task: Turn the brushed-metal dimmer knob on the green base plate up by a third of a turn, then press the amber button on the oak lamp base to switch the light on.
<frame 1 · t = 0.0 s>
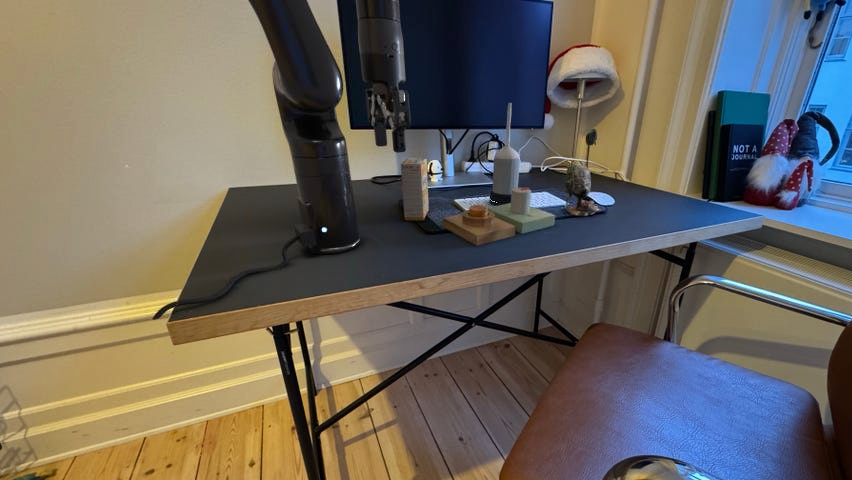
hand: (390, 149, 71), 17 cm above the table, tool pointing down, fingers open, 8 cm apart
dimmer knob: (520, 200, 84), point 5 cm above the table, hinge at 0.0°
light button: (478, 211, 78), point 4 cm above the table, slide at 0.1 cm
green base plate: (519, 221, 87), on the table
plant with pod: (579, 213, 94), on the table
supplement box: (417, 216, 89), on the table
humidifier: (504, 203, 101), on the table
lamp base: (478, 231, 80), on the table
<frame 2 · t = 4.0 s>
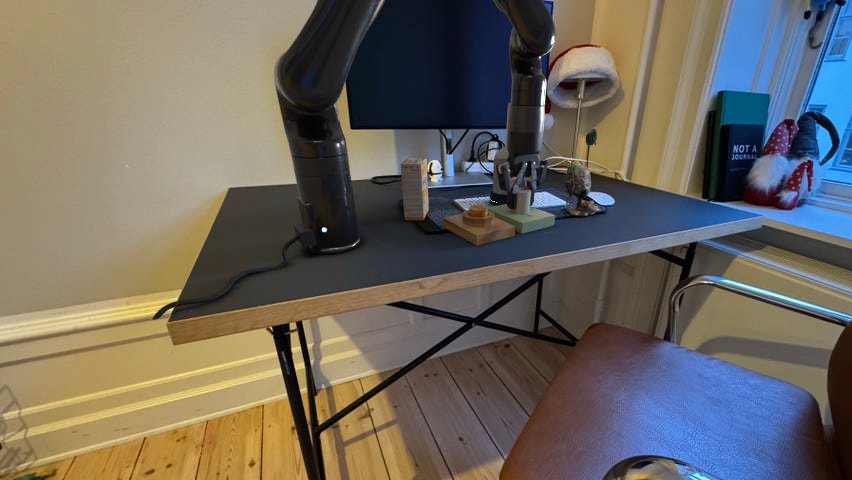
hand: (520, 206, 85), 4 cm above the table, tool pointing down, fingers closed on dimmer knob, 4 cm apart
dimmer knob: (520, 200, 84), point 5 cm above the table, hinge at -0.1°, touching gripper
everything else where it was.
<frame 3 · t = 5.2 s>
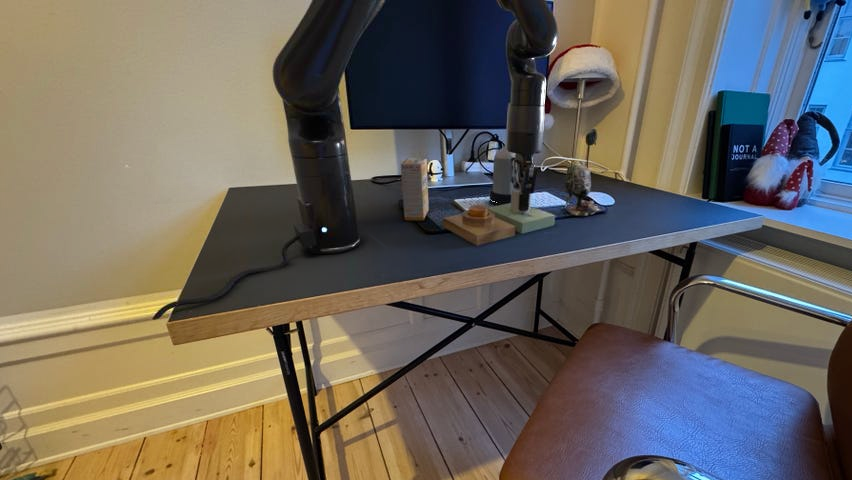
hand: (520, 206, 85), 4 cm above the table, tool pointing down, fingers closed on dimmer knob, 4 cm apart
dimmer knob: (520, 200, 84), point 5 cm above the table, hinge at 63.0°, touching gripper
everything else where it was.
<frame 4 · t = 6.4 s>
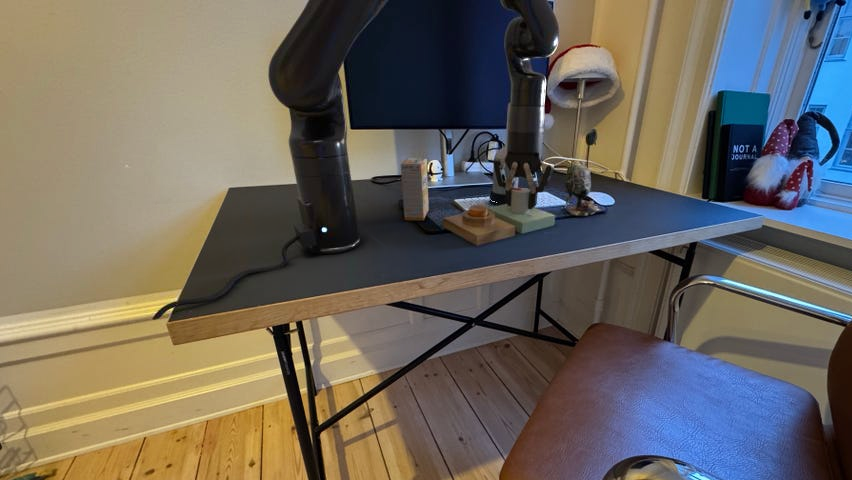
hand: (520, 206, 85), 4 cm above the table, tool pointing down, fingers closed on dimmer knob, 4 cm apart
dimmer knob: (520, 200, 84), point 5 cm above the table, hinge at 124.3°, touching gripper
everything else where it was.
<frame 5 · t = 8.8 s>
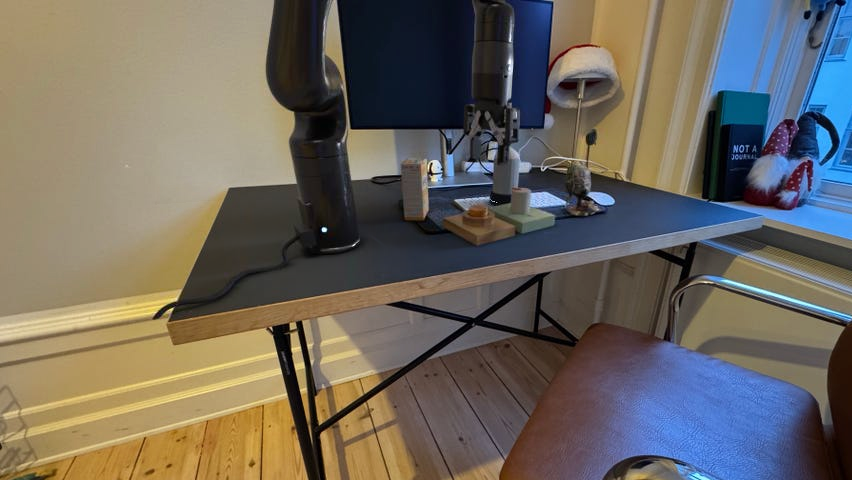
hand: (488, 161, 75), 15 cm above the table, tool pointing down, fingers open, 8 cm apart
dimmer knob: (520, 200, 84), point 5 cm above the table, hinge at 124.6°
everything else where it was.
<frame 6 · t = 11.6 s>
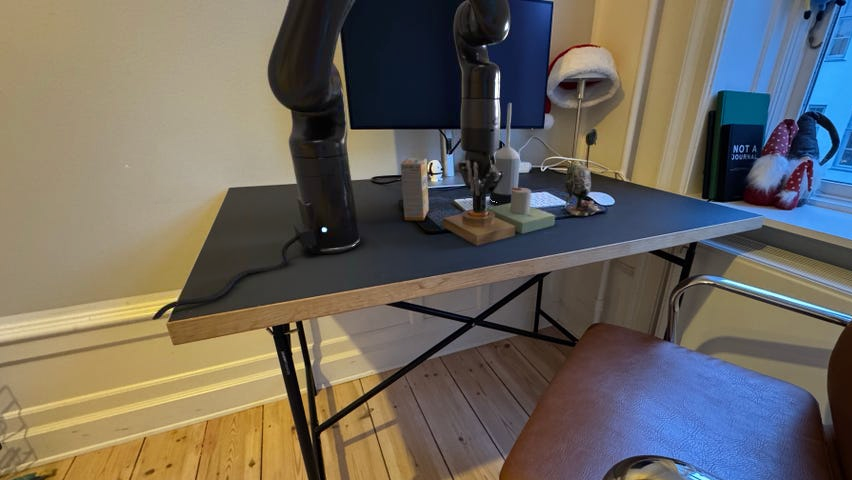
hand: (479, 211, 78), 5 cm above the table, tool pointing down, fingers closed
light button: (478, 215, 79), point 4 cm above the table, slide at -0.7 cm, touching gripper
everything else where it was.
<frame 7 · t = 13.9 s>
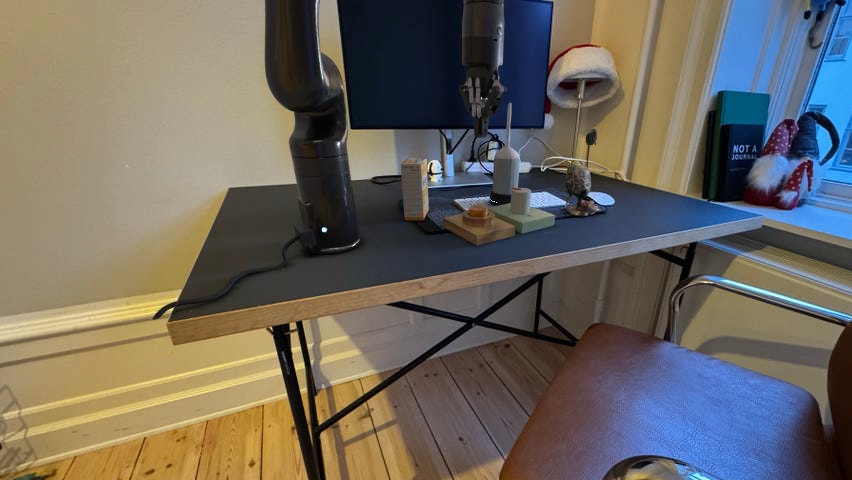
hand: (480, 137, 74), 19 cm above the table, tool pointing down, fingers closed
light button: (478, 211, 78), point 4 cm above the table, slide at 0.1 cm
everything else where it was.
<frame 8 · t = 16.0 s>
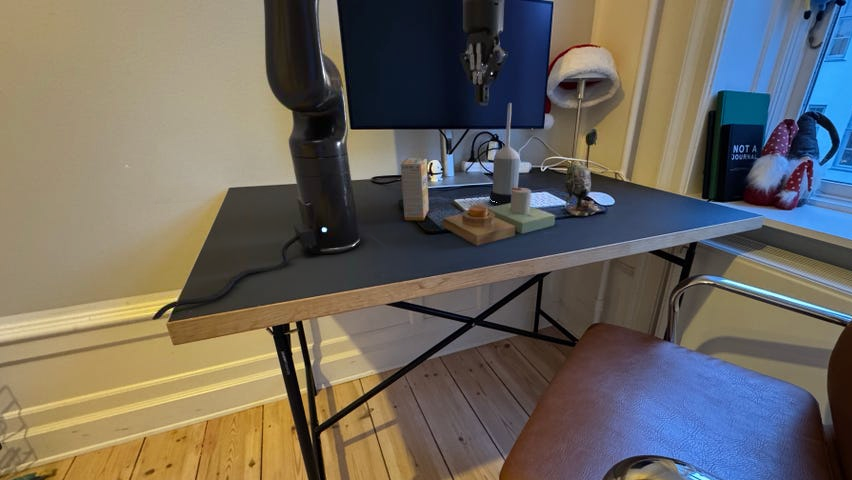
hand: (481, 105, 75), 25 cm above the table, tool pointing down, fingers closed
nothing on the table moved.
at the end: dimmer knob at +125° (first picture: +0°); light button pushed in 1.2 cm at the most during the clip, back to where it started at the end; light button slide at 0.1 cm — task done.
